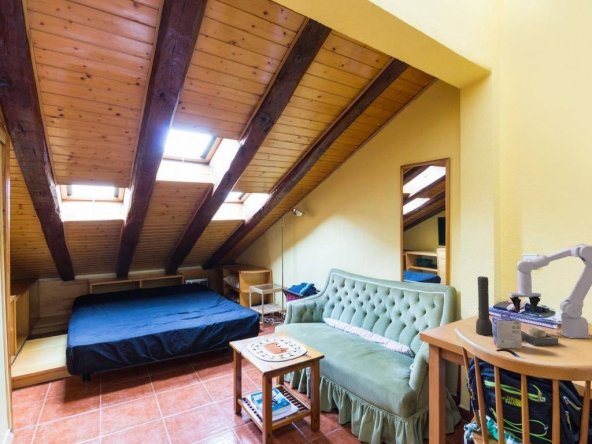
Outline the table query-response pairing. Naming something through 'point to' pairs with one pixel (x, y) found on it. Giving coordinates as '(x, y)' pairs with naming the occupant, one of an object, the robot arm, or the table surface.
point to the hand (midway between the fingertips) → (525, 311)
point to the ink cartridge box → (507, 332)
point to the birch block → (537, 332)
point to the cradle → (540, 340)
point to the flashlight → (483, 309)
